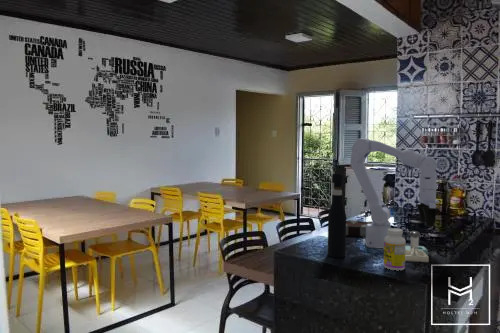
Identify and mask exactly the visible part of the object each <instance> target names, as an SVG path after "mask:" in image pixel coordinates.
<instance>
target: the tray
mask: <svg viewBox="0 0 500 333" xmlns="http://www.w3.org/2000/svg"><path fill="white" fill-rule="evenodd" d="M429 259H430V258H429V256H428V255H426V254H425V253H424V252H423V251H418V256H410V250H405V262H417V263H418V262H419V263H421V262H422V263H429V261H430V260H429Z"/></svg>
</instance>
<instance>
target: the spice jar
mask: <svg viewBox="0 0 500 333" xmlns="http://www.w3.org/2000/svg"><path fill="white" fill-rule="evenodd" d="M420 233H421V232H419V231H413V230H412V231H409V235H410V245H409V246H410V256H418V246H419V240H420V239H419V237H420V235H421V234H420Z"/></svg>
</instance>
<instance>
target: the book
mask: <svg viewBox="0 0 500 333" xmlns="http://www.w3.org/2000/svg"><path fill="white" fill-rule="evenodd" d="M371 223H372V220H371V221H359V220H353V219H348V220H346V237H347V236H356V237H363V238H364V237H365V238H366V224H371Z"/></svg>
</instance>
